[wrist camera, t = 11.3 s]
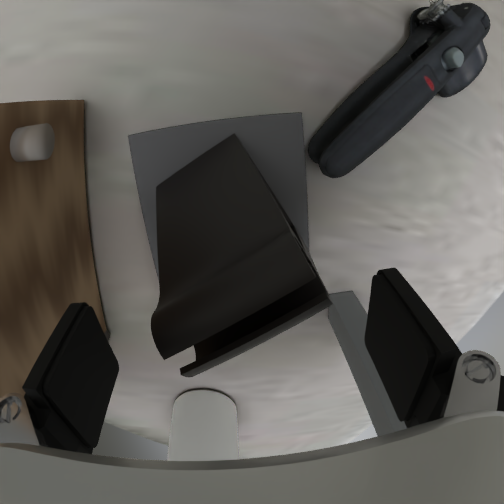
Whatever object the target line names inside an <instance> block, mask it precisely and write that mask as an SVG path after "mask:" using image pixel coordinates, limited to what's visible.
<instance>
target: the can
mask: <svg viewBox="0 0 504 504" xmlns="http://www.w3.org/2000/svg"><path fill="white" fill-rule="evenodd" d="M168 447H169V448H168V457H167V461H216V460H236V459H240V457H239V441H238V424H237V410H236V405H235V404H234V402H233V401H232V400H231V399H230V398H228V397H227V396H226V395H224V394H222V393H220V392H217V391H214V390H208V389H197V390H191V391H187V392H185V393H184V394H182V395H180V396H179V397H178V398H177V399H176V400H175V402H174V405H173V412H172V420H171V428H170V437H169V446H168Z"/></svg>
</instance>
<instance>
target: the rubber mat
mask: <svg viewBox="0 0 504 504" xmlns="http://www.w3.org/2000/svg"><path fill="white" fill-rule="evenodd" d="M234 133H235V134H236V136H237V137H238V139H239V140H240V142H241V143H242V145H243V146H244V148H245V149H246V151H247V152H248V154H249V156H250V157H251V159H252V160H253V162H254V163H255V165H256V166H257V168H258V169H259V171H260V172H261V174H262V175H263V177H264V179H265V180H266V182H267V183H268V185H269V186H270V188H271V190H272V191H273V193H274V194H275V196H276V197H277V199H278V201H279V202H280V204H281V205H282V207H283V209H284V210H285V212H286V213H287V215H288V217H289V218H290V220H291V221H292V223H293V225H294V226H295V228H296V230H297V231H298V233H299V234H300V236H301V238H302V239H303V241H304V243H305V244H306V246H307V249H308V251H309V232H308V205H307V184H306V166H305V150H304V136H303V123H302V113H285V114H271V115H259V116H249V117H239V118H230V119H222V120H214V121H207V122H200V123H193V124H187V125H180V126H175V127H169V128H163V129H158V130H153V131H148V132H143V133H138V134H133V135H129V136H128V137H129V144H130V150H131V156H132V162H133V167H134V173H135V178H136V183H137V188H138V193H139V198H140V203H141V208H142V213H143V217H144V222H145V226H146V231H147V235H148V239H149V244H150V248H151V252H152V256H153V260H154V264H155V268H156V272H157V275H158V279H159V269H158V249H157V221H156V186H158V185H159V184H160V183H162V182H163V181H165V180H166V179H167V178H169V177H170V176H172V175H173V174H174V173H176V172H177V171H179V170H180V169H181V168H183V167H184V166H186V165H187V164H189V163H190V162H191V161H193V160H194V159H196V158H197V157H199V156H200V155H202V154H203V153H205V152H206V151H208V150H209V149H211V148H212V147H214V146H215V145H217V144H218V143H220V142H221V141H223V140H224V139H226V138H228V137H229V136H231V135H232V134H234Z"/></svg>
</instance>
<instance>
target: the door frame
mask: <svg viewBox="0 0 504 504" xmlns="http://www.w3.org/2000/svg"><path fill="white" fill-rule="evenodd" d="M329 296H330V298H331V300H332V302H333V304H332V305H331V306H329V315H328V319H329V321H330V323H331V325H332V328H333V330H334V332H335V334H336V337H337V339H338V341H339V344H340V346H341V348H342V351H343V353H344V355H345V358H346V360H347V362H348V365H349V367H350V369H351V372H352V374H353V376H354V379H355V381H356V384H357V386H358V388H359V391H360V393H361V396H362V398H363V401H364V403H365V405H366V408H367V410H368V413H369V415H370V418H371V420H372V423H373V425H374V428H375V430H376V433H377V435H378V436H382V435H386V434H389V433H393V432H397V431H400V430H404V429H407V427H406V425H405V422H404V421H402V422H401V421H400V420H399V419H398V417H397V415H396V412H395V410H394V408H393V405H392V403H391V401H390V399H389V396H388V394H387V392H386V390H385V387H384V385H383V383H382V381H381V379H380V376H379V374H378V372H377V370H376V368H375V365H374V363H373V361H372V359H371V357H370V355H369V353H368V350H367V348H366V346H365V341H364V337H365V330H366V324H367V317H368V315H367V313H366V311H365V310H364V308H363V306H362V305H361V303H360V302H359V300H358V298H357V297H356V295H355V294H354V292H353V291H348V292H342V293H335V294H329Z"/></svg>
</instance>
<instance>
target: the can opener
mask: <svg viewBox="0 0 504 504" xmlns="http://www.w3.org/2000/svg"><path fill="white" fill-rule="evenodd" d="M443 1H444V0H438V1H436V2H433V1H431V0H430V1H429V2H430V3H431V5H430V7H421V8H419V9H417V10H415V11H414V12H413V13H412V15H411V17H410V36H409V38H408V40H407V41H406V43H405V44H404V46H403V47H402V48H401V49H400V50H399V51H398V53H396V54H395V55H394V56H393V57H392V58H391V59H390V60H389V61H388V62H387V63H386V64H384V65H383V66H382V67H381V68H380V69H379V70H377V71H376V72H375V73H374V74H373V75H372V76H371V77H369V78H368V79H367V80H366V81H365V82H364V83H363V84H362V85H361V86H360V87H359V88H357V89H356V90H355V91H354V92H353V93H352V94H351V95H350V96H349V97H348V98H347V99H346V100H345V101H344V102H343V103H342V104H341V105H340V107H339V108H338V109H337V110H336V111H335V112H334V113H333V114H332V115H331V116H330V118H329V119H328V120H327V121H326V122H325V123H324V124H323V126H322V127H321V128H320V129H319V130H318V132H317V133H316V134H315V135H314V137H313V138H312V139H311V141H310V143H309V147H308V153H309V156H310V158H311V160H313V161H314V162H315V163H318V164H319V167H320V169H321V171H322V173H323V174H324V175H326V176H328V177H331V178H338V177H342V176H344V175H346V174H347V173H349V172H350V171H352V170H353V169H354V168H355V167H356V166H358V165H359V164H360V163H362V162H363V161H364V160H365V159H367V158H368V157H369V156H370V155H372V154H373V153H374V152H375V151H376V150H378V149H379V148H380V147H381V146H382V145H384V144H385V143H386V142H387V141H388V140H389V139H390V138H391V137H392V136H394V135H395V134H396V133H397V132H398V131H399V130H401V129H402V128H403V127H404V126H405V125H406V124H407V123H408V122H409V121H410V120H411V119H412V118H413V117H414V116H415V115H416V114H417V113H418V112H419V111H420V110H421V109H422V108H423V107H424V106H425V105H426V104H427V103H428V102H429V101H430V100H431V99H432V98H433V97H434V96H435V95H436V94H437V93H438V94H439V95H440V96H441V97H450V96H452V95H454V94H457V93H458V92H460V91H461V90H463V89H464V88H465V87H467V86H468V85H469V84H470V83H471V82H472V81H473V80H474V79H475V78H476V77H477V76H478V75H479V73H480V72H481V71H482V69H483V67H484V65H485V63H486V60H487V53H486V49H485V46H484V44H483V38H484V37H485V36H486V35H487V33H488V32H489V29H490V19H489V17H488V15H487V14H486V12H484V10H482V9H481V8H480V7H479V6H477V5H475V4H473V3H462V4H460V5H453V6H450V5H449V4H447V5H444V4H443Z"/></svg>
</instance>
